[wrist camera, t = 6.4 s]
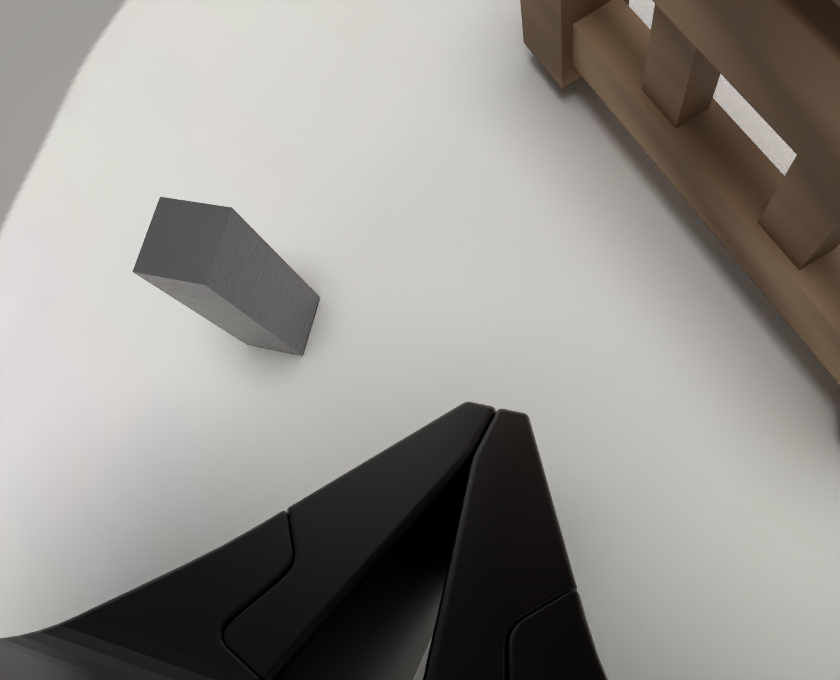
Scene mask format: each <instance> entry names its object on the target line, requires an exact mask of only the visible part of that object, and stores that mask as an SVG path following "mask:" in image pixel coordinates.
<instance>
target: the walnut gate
mask: <svg viewBox="0 0 840 680" xmlns="http://www.w3.org/2000/svg"><path fill="white" fill-rule="evenodd" d="M520 1H521V13H522V25H523V36H524V43H525V44H526V46H527V47H528V48H529V49H530V51H531V52H532V53H533V54H534V55H535V57H536V58H537V59H538V60H539V62H540V63H541V64H542V65H543V67H544V68H545V69H546V70H547V71H548V73H549V74H550V75H551V76H552V78H553V79H554V80H555V81H556V83H557V84H558V85H559V86H560V87H561V89H563V88H565V87H567V86H568V85H570V84H572V83H573V82H575V81H576V80H578V79H580V78H581V77H583V78H584V79H585V81H586V82H587V83H588V84H589V85H590V87H591V88H592V89H593V90H594V91H595V93H596V94H597V95H598V96H599V97H600V99H601V100H602V101H603V102H604V103H605V105H606V106H607V107H608V108H609V109H610V111H611V112H612V113H613V114H614V115H615V117H616V118H617V119H618V120H619V121H620V123H621V124H622V125H623V126H624V127H625V129H626V130H627V131H628V132H629V133H630V135H631V136H632V137H633V138H634V139H635V141H636V142H637V143H638V144H639V145H640V146H641V148H642V149H643V150H644V151H645V152H646V154H647V155H648V156H649V157H650V158H651V160H652V161H653V162H654V163H655V164H656V166H657V167H658V168H659V169H660V170H661V172H662V173H663V174H664V175H665V176H666V178H667V179H668V180H669V181H670V182H671V184H672V185H673V186H674V187H675V188H676V190H677V191H678V192H679V193H680V194H681V196H682V197H683V198H684V199H685V200H686V202H687V203H688V204H689V205H690V206H691V208H692V209H693V210H694V211H695V212H696V214H697V215H698V216H699V217H700V218H701V220H702V221H703V222H704V223H705V224H706V226H707V227H708V228H709V229H710V230H711V232H712V233H713V234H714V235H715V236H716V238H717V239H718V240H719V241H720V242H721V244H722V245H723V246H724V247H725V248H726V250H727V251H728V252H729V253H730V254H731V256H732V257H733V258H734V259H735V260H736V262H737V263H738V264H739V265H740V266H741V268H742V269H743V270H744V271H745V272H746V274H747V275H748V276H749V277H750V278H751V280H752V281H753V282H754V283H755V284H756V285H757V287H758V288H759V289H760V290H761V291H762V293H763V294H764V295H765V296H766V297H767V299H768V300H769V301H770V302H771V303H772V305H773V306H774V307H775V308H776V309H777V311H778V312H779V313H780V314H781V315H782V317H783V318H784V319H785V320H786V321H787V323H788V324H789V325H790V326H791V327H792V329H793V330H794V331H795V332H796V333H797V335H798V336H799V337H800V338H801V339H802V341H803V342H804V343H805V344H806V345H807V347H808V348H809V349H810V350H811V351H812V353H813V354H814V355H815V356H816V357H817V359H818V360H819V361H820V362H821V363H822V365H823V366H824V367H825V368H826V369H827V371H828V372H829V373H830V374H831V375H832V377H833V378H834V379H835V380H836V381H837V383H838V384H839V385H840V0H652V1H653V2H654V3H655V8H654V14H653V20H652V26H651V30H650V29H649V28H648V27H647V26H646V24H645V23H644V22H643V21H642V20H641V19H640V18H639V17H638V16H637V15H636V14H635V12H634V11H633V10H632V9H631V8H630V7H629V0H520ZM720 73H721V74H722V75H723V76H724V77H725V78H726V80H727V81H728V82H729V83H730V84H731V85H732V86H733V87H734V88H735V89H736V90H737V91H738V92H739V93H740V94H741V96H742V97H743V98H744V99H745V100H746V101H747V102H748V103H749V104H750V105H751V106H752V107H753V108H754V109H755V110H756V111H757V113H758V114H759V115H760V116H761V117H762V118H763V119H764V120H765V121H766V122H767V123H768V124H769V125H770V126H771V127H772V129H773V130H774V131H775V132H776V133H777V134H778V135H779V136H780V137H781V138H782V139H783V140H784V141H785V142H786V143H787V144H788V146H789V147H790V148H791V149H792V150H793V151H794V152H795V153H796V154H797V156H796V158H795V159H794V161H793V163H792V164H791V166H790V168H789V170H788V171H787V173H786V175H785V176H784V175H783V174H782V173H781V172H780V171H779V170H778V169H777V167H776V166H775V165H774V164H773V163H772V162H771V161H770V160H769V159H768V158H767V157H766V155H765V154H764V153H763V152H762V151H761V150H760V149H759V148H758V147H757V146H756V145H755V143H754V142H753V141H752V140H751V139H750V138H749V137H748V136H747V135H746V134H745V133H744V131H743V130H742V129H741V128H740V127H739V126H738V125H737V124H736V123H735V122H734V120H733V119H732V118H731V117H730V116H729V115H728V114H727V113H726V112H725V111H724V110H723V108H722V107H721V106H720V105H719V104H718V103H717V102H716V101H715V100H714V99H713V95H714V92H715V88H716V85H717V82H718V79H719V76H720Z"/></svg>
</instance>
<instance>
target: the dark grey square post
mask: <svg viewBox="0 0 840 680" xmlns="http://www.w3.org/2000/svg"><path fill="white" fill-rule="evenodd" d="M133 272H134V273H135V274H137V275H138V276H140V277H142V278H143V279H145V280H146V281H148V282H149V283H151V284H152V285H154V286H156V287H157V288H159V289H160V290H162V291H163V292H165V293H167V294H168V295H170V296H171V297H173V298H174V299H176V300H178V301H179V302H181V303H182V304H184V305H185V306H187V307H189V308H190V309H192V310H193V311H195V312H196V313H198V314H200V315H201V316H203V317H204V318H206V319H207V320H209V321H211V322H212V323H214V324H215V325H217V326H218V327H220V328H222V329H223V330H225V331H226V332H228V333H229V334H231V335H233V336H234V337H236V338H237V339H239V340H240V341H242V342H244V343H245V344H248V345H252V346H257V347H262V348H267V349H272V350H277V351H281V352H286V353H291V354H296V355H301V356H302V355H303V352H304V348H305V345H306V342H307V338H308V335H309V332H310V328H311V325H312V322H313V318H314V315H315V311H316V308H317V305H318V301H319V298H320V297H319V296H318V295H317V294H316V293H315V292H314V291H313V290H312V289H311V288H310V287H309V286H308V285H307V284H306V283H305V282H304V281H303V280H302V279H301V277H300V276H299V275H298V274H297V273H296V272H295V271H294V270H293V269H292V268H291V267H290V266H289V265H288V264H287V263H286V262H285V261H284V260H283V259H282V258H281V257H280V256H279V255H278V254H277V253H276V252H275V251H274V250H273V249H272V248H271V247H270V246H269V245H268V244H267V243H266V242H265V241H264V240H263V239H262V238H261V237H260V236H259V235H258V234H257V233H256V232H255V231H254V230H253V229H252V228H251V227H250V226H249V225H248V224H247V223H246V222H245V221H244V220H243V218H242V217H241V216H240V215H239V214H238V213H237V212H236V211H235V210H234V209H233V208H231V207H224V206H217V205H211V204H204V203H197V202H191V201H184V200H177V199H171V198H164V197H160V199H159V201H158V204H157V207H156V210H155V212H154V215H153V218H152V220H151V223H150V226H149V229H148V231H147V234H146V237H145V239H144V242H143V245H142V248H141V250H140V253H139V256H138V258H137V261H136V264H135V267H134V269H133Z"/></svg>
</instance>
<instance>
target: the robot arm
mask: <svg viewBox="0 0 840 680" xmlns="http://www.w3.org/2000/svg"><path fill="white" fill-rule="evenodd" d="M432 634H433V636H432ZM431 636H432V641H431V645H430V650H429V654H428V659H427V663H426V668H425V673H424V677H423V680H608V679H607V677H606V674H605V672H604V669H603V667H602V665H601V662H600V660H599V657H598V654H597V651H596V648H595V645H594V642H593V639H592V635H591V632H590V629H589V626H588V623H587V620H586V617H585V613H584V610H583V606H582V603H581V599H580V596H579V593H578V592H577V586H576V583H575V579H574V575H573V572H572V568H571V565H570V561H569V558H568V554H567V551H566V547H565V544H564V540H563V536H562V533H561V529H560V526H559V522H558V519H557V515H556V512H555V508H554V504H553V501H552V497H551V494H550V490H549V487H548V483H547V480H546V476H545V472H544V469H543V465H542V462H541V458H540V455H539V451H538V448H537V444H536V441H535V437H534V433H533V430H532V426H531V423H530V419H529V417H528V415H527V414H525V413H520V412H516V411H511V410H506V409H499V410H497V411H496V410H495V408H494V407H492V406H487V405H482V404H478V403H473V402H465V403H463V404H461V405H459V406H458V407H456V408H454V409H453V410H451V411H449V412H448V413H446V414H444V415H443V416H441V417H439V418H438V419H436V420H434V421H433V422H431V423H429V424H428V425H426V426H424V427H423V428H421V429H419V430H418V431H416V432H414V433H413V434H411V435H409V436H408V437H406V438H404V439H403V440H401V441H399V442H398V443H396V444H394V445H393V446H391V447H389V448H388V449H386V450H384V451H383V452H381V453H379V454H378V455H376V456H374V457H372V458H371V459H369V460H367V461H366V462H364V463H362V464H361V465H359V466H357V467H356V468H354V469H352V470H351V471H349V472H347V473H346V474H344V475H342V476H341V477H339V478H337V479H336V480H334V481H332V482H331V483H329V484H327V485H326V486H324V487H322V488H321V489H319V490H317V491H316V492H314V493H312V494H311V495H309V496H307V497H306V498H304V499H302V500H301V501H299V502H297V503H296V504H294V505H292V506H291V507H289V508H288V509H287V512H285V511H282V512H280V513H278V514H277V515H275V516H273V517H272V518H270V519H268V520H267V521H265V522H263V523H262V524H260V525H258V526H256V527H255V528H253V529H251V530H249V531H248V532H246V533H244V534H242V535H240V536H239V537H237V538H235V539H233V540H232V541H230V542H228V543H226V544H224V545H223V546H221V547H219V548H217V549H215V550H213V551H211V552H209V553H207V554H205V555H203V556H201V557H199V558H197V559H195V560H193V561H191V562H189V563H187V564H185V565H183V566H181V567H179V568H177V569H175V570H172V571H170V572H168V573H166V574H164V575H162V576H160V577H158V578H156V579H154V580H151V581H149V582H147V583H145V584H143V585H141V586H139V587H137V588H135V589H133V590H130V591H128V592H126V593H124V594H122V595H120V596H118V597H116V598H114V599H111V600H109V601H107V602H105V603H103V604H101V605H99V606H97V607H95V608H93V609H90V610H88V611H86V612H84V613H82V614H80V615H78V616H76V617H73V618H71V619H69V620H66V621H64V622H62V623H59V624H57V625H54V626H51V627H48V628H45V629H42V630H39V631H36V632H32V633H28V634H24V635H20V636H13V637H6V638H0V680H413V677H414V675H415V673H416V671H417V668H418V666H419V664H420V661H421V659H422V657H423V655H424V652H425V650H426V648H427V646H428V643H429V641H430V639H431Z"/></svg>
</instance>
